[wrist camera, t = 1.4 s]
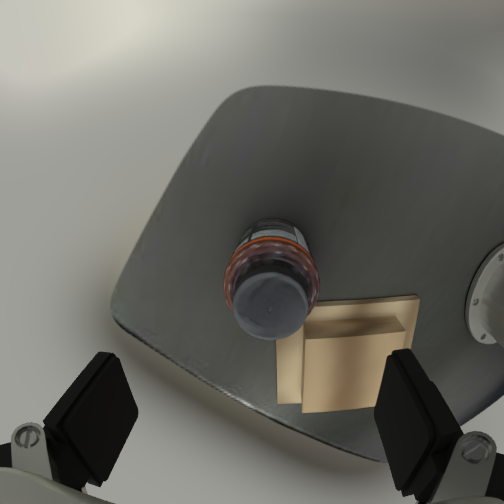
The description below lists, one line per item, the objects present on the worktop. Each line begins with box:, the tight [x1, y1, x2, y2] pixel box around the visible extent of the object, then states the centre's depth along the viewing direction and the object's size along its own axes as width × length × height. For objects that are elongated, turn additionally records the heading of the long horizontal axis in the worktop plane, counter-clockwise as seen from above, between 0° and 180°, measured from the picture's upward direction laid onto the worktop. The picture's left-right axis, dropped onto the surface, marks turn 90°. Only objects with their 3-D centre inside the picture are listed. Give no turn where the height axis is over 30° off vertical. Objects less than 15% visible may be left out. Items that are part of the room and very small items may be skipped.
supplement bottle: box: [223, 219, 320, 340], centre depth 21 cm, size 6×6×11 cm
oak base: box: [276, 295, 420, 413], centre depth 26 cm, size 14×12×4 cm
